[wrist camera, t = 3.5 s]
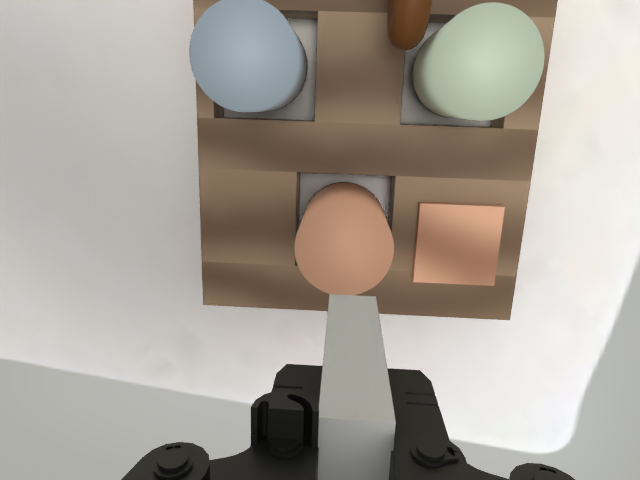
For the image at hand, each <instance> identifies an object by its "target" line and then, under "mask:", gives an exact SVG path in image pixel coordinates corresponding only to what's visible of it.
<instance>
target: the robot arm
mask: <svg viewBox="0 0 640 480" xmlns="http://www.w3.org/2000/svg"><path fill="white" fill-rule="evenodd" d="M122 480H575V479H573V478H572V477H571V476H570V475H568V474H566V473H564V472H562V471H560V470H558V469H556V468H554V467H550V466H546V465H543V464H534V463H526V464H523V465H519V466H516V467H515V469H514V470H513V471H512V472H511V473H510V478H509V479H506V478H503V477H499V476H496V475H492V474H489V473H486V472H484V471H481V470H478V469H476V468H474V467H473V466H471V465H469V464H467V462H466V459H465V457H464V455H463V453H462V452H461V451H460V449H459V448H458V447H457V446H456V445H454V444H453V443H452V442H451V441H449V438H448V434H447V431H446V428H445V425H444V422H443V418H442V415H441V412H440V409H439V406H438V402H437V399H436V396H435V393H434V389H433V386H432V383H431V381H430V380H429V379H428V378H427V377H426V376H425V375H424V374H423V373H422V372H421V371H420V370H405V369H388V368H387V364H386V357H385V351H384V345H383V338H382V332H381V325H380V319H379V313H378V306H377V300H376V297H375V296H356V295H337V294H329V305H328V316H327V326H326V337H325V347H324V358H323V366H311V365H294V364H286V365H285V366H284V367H283V368H282V369H281V370H280V371H279V372H278V373H277V374H276V377H275V381H274V385H273V389H272V392H271V393H267V394H264V395H263V396H261V397H260V398H258V399H256V400H255V402H254V403H253V405H252V406H251V446H250V448H248V449H247V450H246V451H244V452H241V453H239V454H237V455H234V456H230V457H226V458H220V459H214V460H209V455H208V454H207V453H206V451H205V450H204V449H203V448H202V447H199V446H197V445H195V444H193V443H183V442H177V443H172V444H165V445H163V446H161V447H158V448H156V449H154V450H152V451H151V452H149V453H148V454H147V455H145V456H144V457H143V458H142V459H141V460H140V461H139V462H138V463H137V464H136V465H135V466H134V467H133V468H132V469H131V470H130V471H129V472H128V473H127V474H126V475H125V476H124V477H123V479H122Z"/></svg>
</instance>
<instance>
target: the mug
mask: <svg viewBox="0 0 640 480" xmlns="http://www.w3.org/2000/svg"><path fill="white" fill-rule="evenodd" d="M431 5H432V0H389V1H388V17H387V28H388V37H389V39H390V41H391V43H392V44H393V45H394V46H395V47H397V48H399V49H402V50H408V49H412V48H414V47H415V46H417V45H418V44H419V42H420V41H421V40H422V38H423V37H424V34H425V31H426V28H427V25H428V21H429V17H430V11H431Z"/></svg>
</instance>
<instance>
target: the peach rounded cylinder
mask: <svg viewBox="0 0 640 480" xmlns="http://www.w3.org/2000/svg"><path fill="white" fill-rule="evenodd" d="M294 250H295V258H296V262H297V265H298V267H299V269H300V271H301V273H302V274H303V276H304V277H305V278H306V279H307V281H308V282H309V283H311V284H312V285H313V286H314V287H316V288H317V289H319V290H321V291H323V292H325V293H328V294H337V295H357V294H361V293H363V292H366V291H368V290H369V289H371V288H373V287H374V286H376V285H377V284H378V283H379V282H380V281H381V280H382V279H383V278H384V276H385V275H386V274H387V272H388V270H389V268H390V266H391V264H392V260H393V255H394V241H393V237H392V233H391V230H390V228H389V225H388V223H387V220H386V217H385V215H384V212H383V210H382V207H381V205H380V203H379V201H378V200H377V198H376V197H375V196H374V195H373V194H372V193H371V192H370V191H369V190H367V189H366V188H364V187H362V186H360V185H357V184H354V183H348V182H340V183H334V184H331V185H328V186H326V187H324V188H322V189H321V190H319V191H318V192H317V193H316V194H315V195H314V196H313V197H312V198H311V200H310V201H309V203H308V205H307V207H306V210H305V213H304V215H303V218H302V221H301V224H300V226H299V229H298V232H297V235H296V239H295V246H294Z"/></svg>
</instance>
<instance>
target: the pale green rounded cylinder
mask: <svg viewBox="0 0 640 480" xmlns="http://www.w3.org/2000/svg"><path fill="white" fill-rule="evenodd" d="M543 67H544V46H543V41H542V38H541V35H540V33H539V30H538V28H537V27H536V25H535V24H534V22H533V21H532V20H531V19H530V18H529V17H528V16H527V15H526V14H525V13H524V12H522V11H521V10H519V9H517V8H516V7H513V6H511V5H508V4H504V3H496V2H491V3H482V4H478V5H475V6H472V7H470V8H468V9H465V10H464V11H462V12H461V13H459V14H458V15H456V16H455V17H454V18H453V19H451V20H450V21H449V22H448V23H446V24H445V25H444V26H443V27H441V28H440V29H439V30H438V31H437V32H435V33H434V34H433V35H432V36H430V37H429V38H428V39H427V40H426V41H425V42H424V44H423V45H422V47H421V48H420V50H419V52H418V53H417V56H416V58H415V62H414V66H413V84H414V88H415V91H416V94H417V96H418V97H419V99H420V101H421V102H422V103H423V104H424V105H425V106H426V107H427V108H428V109H429V110H430V111H432V112H434V113H435V114H437V115H440V116H443V117H448V118H458V119H468V120H478V121H487V120H494V119H498V118H501V117H504V116H506V115H508V114H510V113H512V112H513V111H515V110H516V109H518V108H519V107H520V106H522V105H523V104H524V103H525V102H526V101H527V100H528V98H529V97H530V96H531V95H532V93H533V92H534V90H535V89H536V87H537V85H538V83H539V81H540V78H541V75H542V71H543Z"/></svg>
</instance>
